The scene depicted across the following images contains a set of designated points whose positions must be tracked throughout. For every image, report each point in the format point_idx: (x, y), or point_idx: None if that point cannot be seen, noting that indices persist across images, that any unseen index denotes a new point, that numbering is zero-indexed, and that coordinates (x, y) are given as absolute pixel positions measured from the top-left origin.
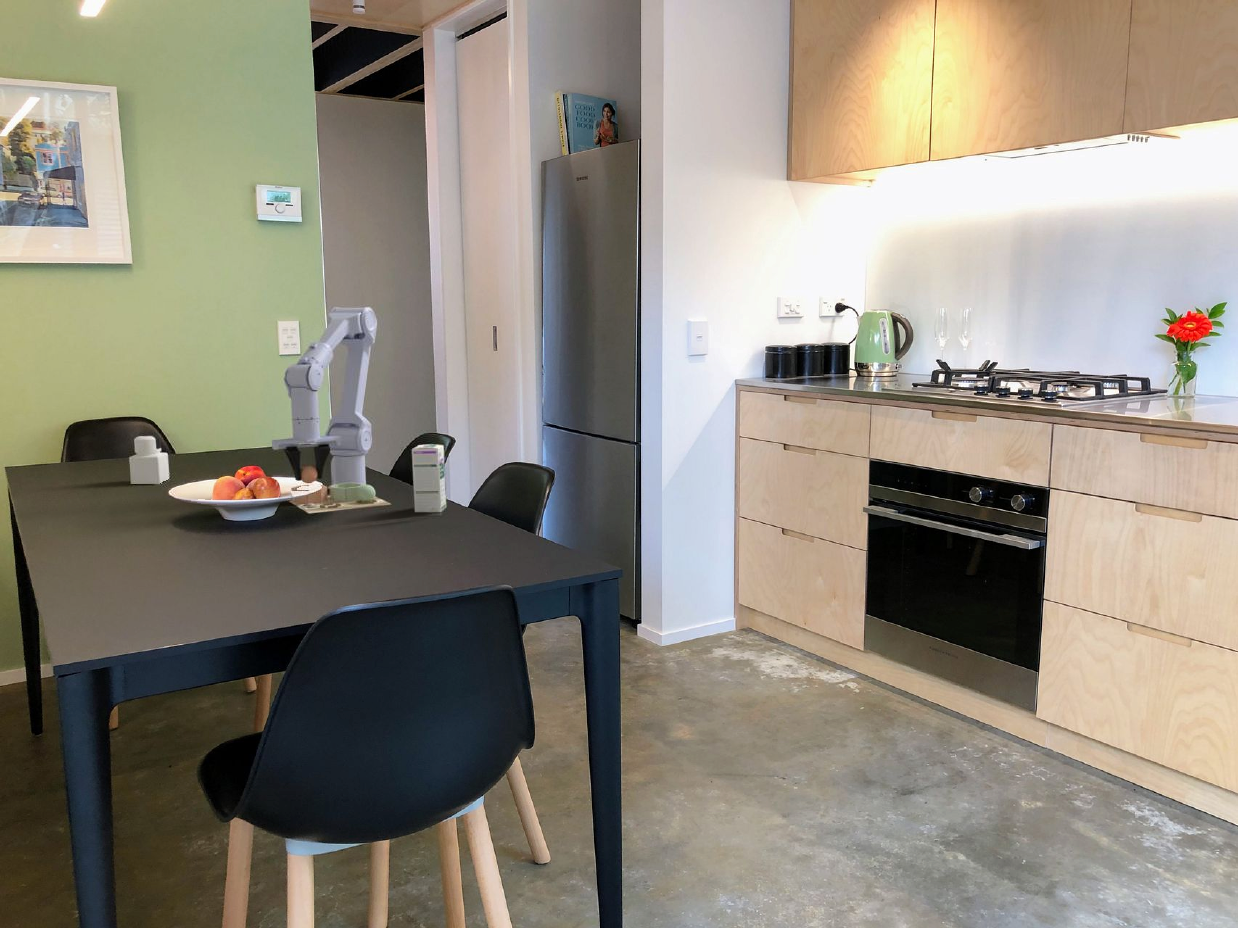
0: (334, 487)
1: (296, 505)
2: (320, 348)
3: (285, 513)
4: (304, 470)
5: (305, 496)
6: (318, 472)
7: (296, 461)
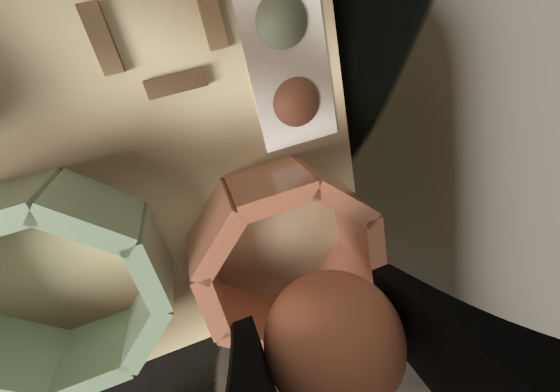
0: (134, 259)
1: (346, 130)
2: None
3: (399, 25)
4: (387, 324)
5: (315, 172)
6: (263, 358)
7: (533, 352)
